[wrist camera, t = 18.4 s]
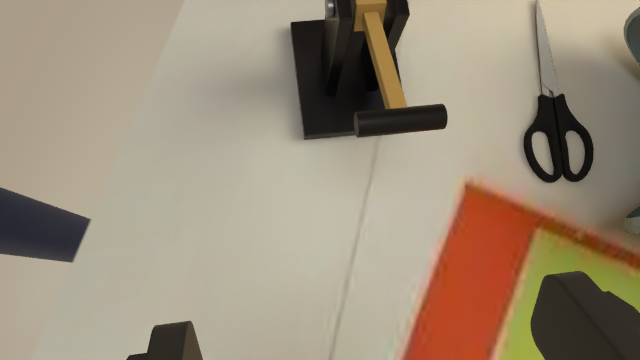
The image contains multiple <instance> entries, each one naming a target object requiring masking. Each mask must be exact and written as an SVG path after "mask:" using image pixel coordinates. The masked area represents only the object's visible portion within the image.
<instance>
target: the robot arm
mask: <svg viewBox="0 0 640 360" xmlns="http://www.w3.org/2000/svg"><path fill="white" fill-rule="evenodd" d="M531 332H532V336H533V339H534V342H535V344H536V346H537V348H538V349H539V351H540V352H541V354H542V355H543V357H544V358H545V360H640V313H639V312H638V311H637V310H636V309H635V308H634V307H633V306H631V305H630V304H628V303H627V302H625V301H624V300H622V299H620V298H619V297H617V296H616V295H614V294H613V293H611V292H610V291H606V292H602V290H601V289H600V288H599V287H598V286H597V285H596V284H595V283H594V282H593V281H592V279H591V278H590V277H589V276H588V275H587V274H585V273H583V272H581V271H574V272H567V273H559V274H552V275H547V276H545V277H544V278H543V280H542V283H541V287H540V290H539V294H538V297H537V300H536V304H535V307H534V311H533V314H532V318H531ZM126 360H203V358H202V355H201V351H200V348H199V344H198V341H197V337H196V334H195V330H194V327H193V324H192V322H191V321H185V322H178V323H170V324H163V325H156V326H154V328H153V330H152V333H151V337H150V342H149V346H148V351H147V353H143V354H135V355H129V357H128V358H127V359H126Z"/></svg>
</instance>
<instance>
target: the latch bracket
mask: <svg viewBox="0 0 640 360" xmlns="http://www.w3.org/2000/svg"><path fill="white" fill-rule="evenodd" d="M386 2H387V4H386V10H385V16H384V22H383V30H384V33H385V36H386V39H387V43H388V46H389V49H390V52H391V56H392V59H393V62H394V65H395V69H396V72H397V75H398V78H399V82H400V85H401V80H400V75H399V69H398V64H397V58H396V52H395V48H396V45H397V43H398V41H399V38H400V36H401V34H402V31H403V29H404V27H405V24H406V22H407V20H408V17H409V15H410V13H409V8H408V0H386ZM325 12H326V13H325V20H313V21H300V22H291V35H292V44H293V52H294V60H295V68H296V76H297V84H298V93H299V101H300V109H301V117H302V125H303V133H304V139H305V140H306V139H317V138H327V137H337V136H347V135H356V133H355V128H354V114H355V112H361V111H372V110H382V109H385V105H384V101H383V98H382V94H381V91H380V87H379V83H378V80H377V76H376V72H375V69H374V65H373V61H372V58H371V54H370V51H369V47H368V43H367V40H366V36H365V32H364V31H354V30H353V27H352V22H353V13H352V6H351V0H325ZM401 88H402V86H401Z"/></svg>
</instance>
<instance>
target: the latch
mask: <svg viewBox="0 0 640 360" xmlns="http://www.w3.org/2000/svg"><path fill="white" fill-rule="evenodd" d="M386 4H387V2H386V0H351V6H352V13H353V22H352V27H353V30H354V31H364V32H365V36H366V40H367V43H368V47H369V51H370V54H371V58H372V61H373V65H374V69H375V72H376V76H377V80H378V83H379V87H380V91H381V94H382V98H383V101H384V105H385V109H382V110H372V111H361V112H355V114H354V128H355V133H356V136H357V137H358V138H359V137H369V136H379V135H389V134H399V133H409V132H419V131H429V130H439V129H444V128H445V127H446V125H447V111H446V108H445V106H444V105H443V104H435V105H424V106H414V107H407V104H406V101H405V98H404V94H403V91H402V88H401V85H400V82H399V78H398V75H397V72H396V69H395V65H394V62H393V59H392V56H391V52H390V49H389V46H388V43H387V39H386V36H385V33H384V30H383V22H384V16H385V10H386Z"/></svg>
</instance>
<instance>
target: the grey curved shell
mask: <svg viewBox="0 0 640 360" xmlns="http://www.w3.org/2000/svg"><path fill="white" fill-rule="evenodd" d="M624 37H625V41H626V44H627V46H628V48H629V50H630V52H631V53H632V55H633V57H634V58H635V60H636V61H637V63H638V64H639V65H640V7H639V8H638V9H636V10H635V11H634V12H633V13H632V14H631V15H630V16H629V17H628V19H627V20H626V22H625V25H624ZM623 228H624V229H625V230H626V232H628V233H639V234H640V207H638V208H637V209H635V210H634V211H632V212H631V213H630V214H628V215H627V216H626V218H625V221H624V224H623Z"/></svg>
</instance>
